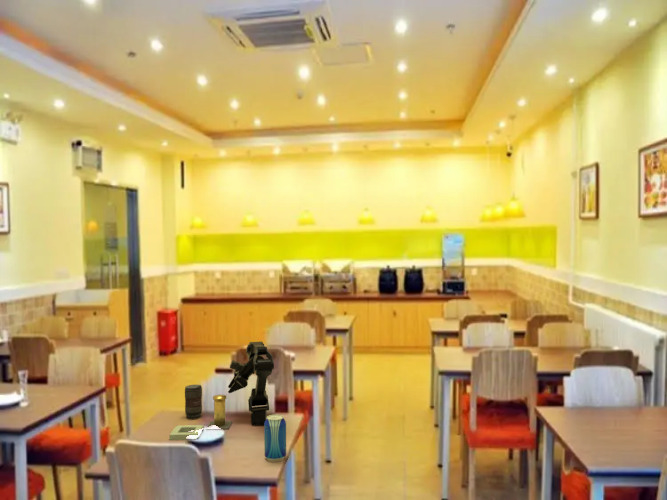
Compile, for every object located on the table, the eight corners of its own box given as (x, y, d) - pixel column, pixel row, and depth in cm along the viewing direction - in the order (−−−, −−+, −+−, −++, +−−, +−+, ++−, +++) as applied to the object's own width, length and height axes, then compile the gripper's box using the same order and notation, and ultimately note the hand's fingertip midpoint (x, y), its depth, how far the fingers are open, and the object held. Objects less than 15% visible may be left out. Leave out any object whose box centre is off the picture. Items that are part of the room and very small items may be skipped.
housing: (203, 430, 245) (203, 425, 245) (197, 439, 233) (197, 434, 233) (177, 430, 245) (176, 425, 245) (169, 439, 233) (169, 434, 233)
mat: (232, 422, 255) (232, 421, 255) (228, 429, 245) (228, 428, 245) (210, 422, 255) (210, 421, 255) (206, 429, 245) (206, 428, 245)
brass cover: (228, 423, 252) (228, 395, 252) (222, 427, 246) (222, 398, 246) (216, 422, 254) (216, 394, 254) (210, 426, 248) (210, 397, 248)
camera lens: (204, 414, 267) (204, 384, 267) (198, 419, 259) (198, 388, 259) (188, 414, 268) (188, 383, 268) (182, 419, 260) (182, 388, 260)
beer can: (265, 454, 216) (264, 414, 215) (286, 453, 216) (285, 413, 216) (264, 462, 207) (263, 420, 207) (286, 461, 208) (285, 420, 208)
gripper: (239, 350, 270) (216, 374, 268) (240, 358, 252) (215, 384, 250) (255, 365, 272) (233, 389, 270) (257, 374, 254) (233, 400, 252)
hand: (228, 390), depth 260 cm, fingers open, 9 cm apart
